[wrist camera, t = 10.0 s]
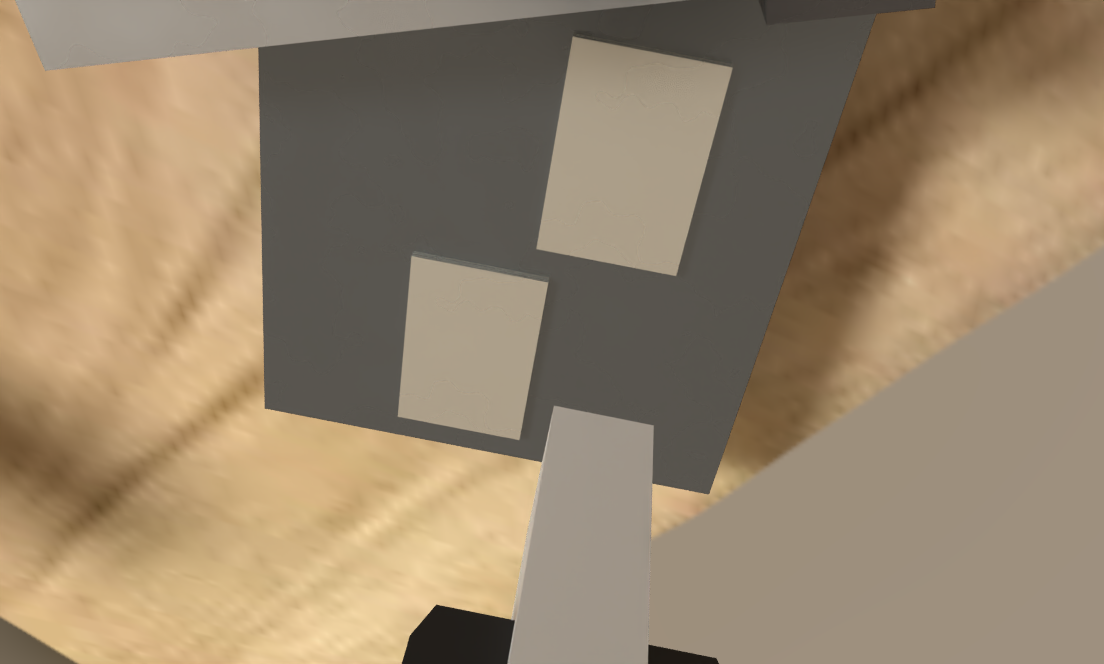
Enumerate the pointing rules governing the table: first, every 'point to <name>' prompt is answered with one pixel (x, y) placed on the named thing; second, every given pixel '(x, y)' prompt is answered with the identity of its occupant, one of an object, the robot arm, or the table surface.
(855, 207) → the table surface
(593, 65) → the grey flat block
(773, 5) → the cable arm
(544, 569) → the robot arm
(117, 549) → the table surface
